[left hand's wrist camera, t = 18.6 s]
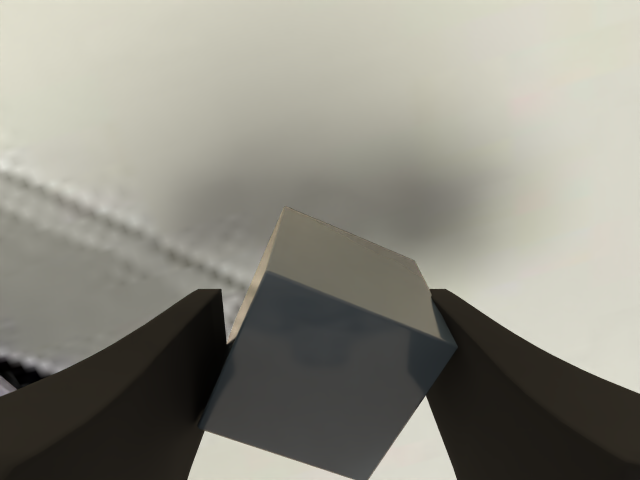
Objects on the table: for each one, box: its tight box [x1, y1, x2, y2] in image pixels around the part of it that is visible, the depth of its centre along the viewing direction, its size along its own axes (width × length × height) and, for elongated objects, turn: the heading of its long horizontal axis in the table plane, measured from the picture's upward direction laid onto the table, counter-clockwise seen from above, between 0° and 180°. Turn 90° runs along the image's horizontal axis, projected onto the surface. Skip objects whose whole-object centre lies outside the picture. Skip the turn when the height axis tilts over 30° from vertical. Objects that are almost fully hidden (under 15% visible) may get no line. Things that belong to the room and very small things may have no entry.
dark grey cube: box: [198, 206, 458, 480], centre depth 10 cm, size 4×4×4 cm
